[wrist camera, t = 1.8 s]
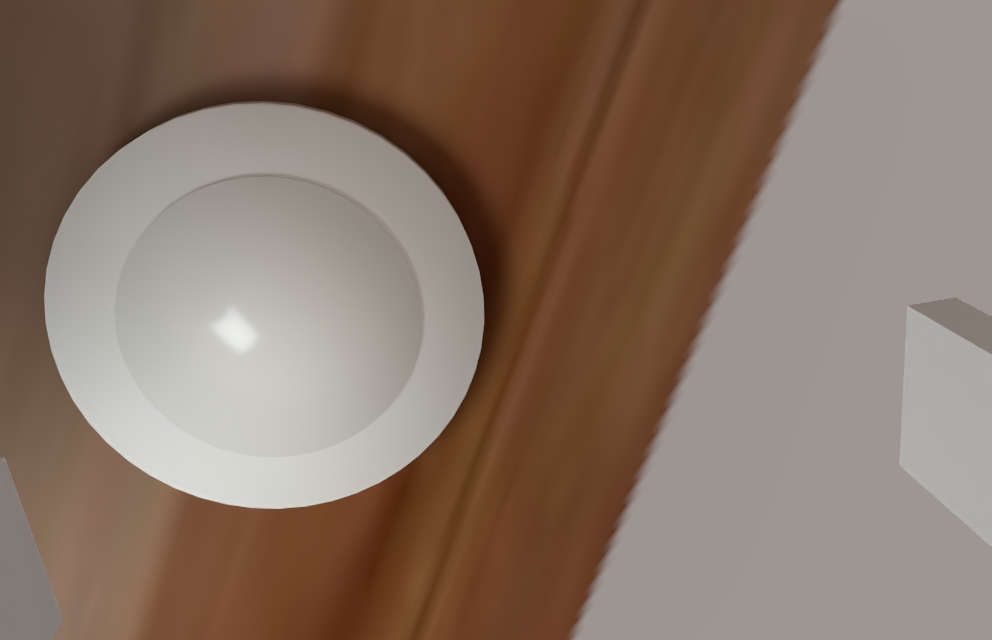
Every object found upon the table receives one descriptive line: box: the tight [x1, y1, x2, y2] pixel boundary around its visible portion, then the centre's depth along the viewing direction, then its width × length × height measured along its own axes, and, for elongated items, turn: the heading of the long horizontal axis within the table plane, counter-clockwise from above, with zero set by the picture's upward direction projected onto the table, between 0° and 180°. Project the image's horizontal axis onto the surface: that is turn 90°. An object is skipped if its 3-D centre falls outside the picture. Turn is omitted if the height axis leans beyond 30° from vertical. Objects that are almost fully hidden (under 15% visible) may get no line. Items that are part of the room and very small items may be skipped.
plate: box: [44, 101, 484, 509], centre depth 32 cm, size 15×15×1 cm
